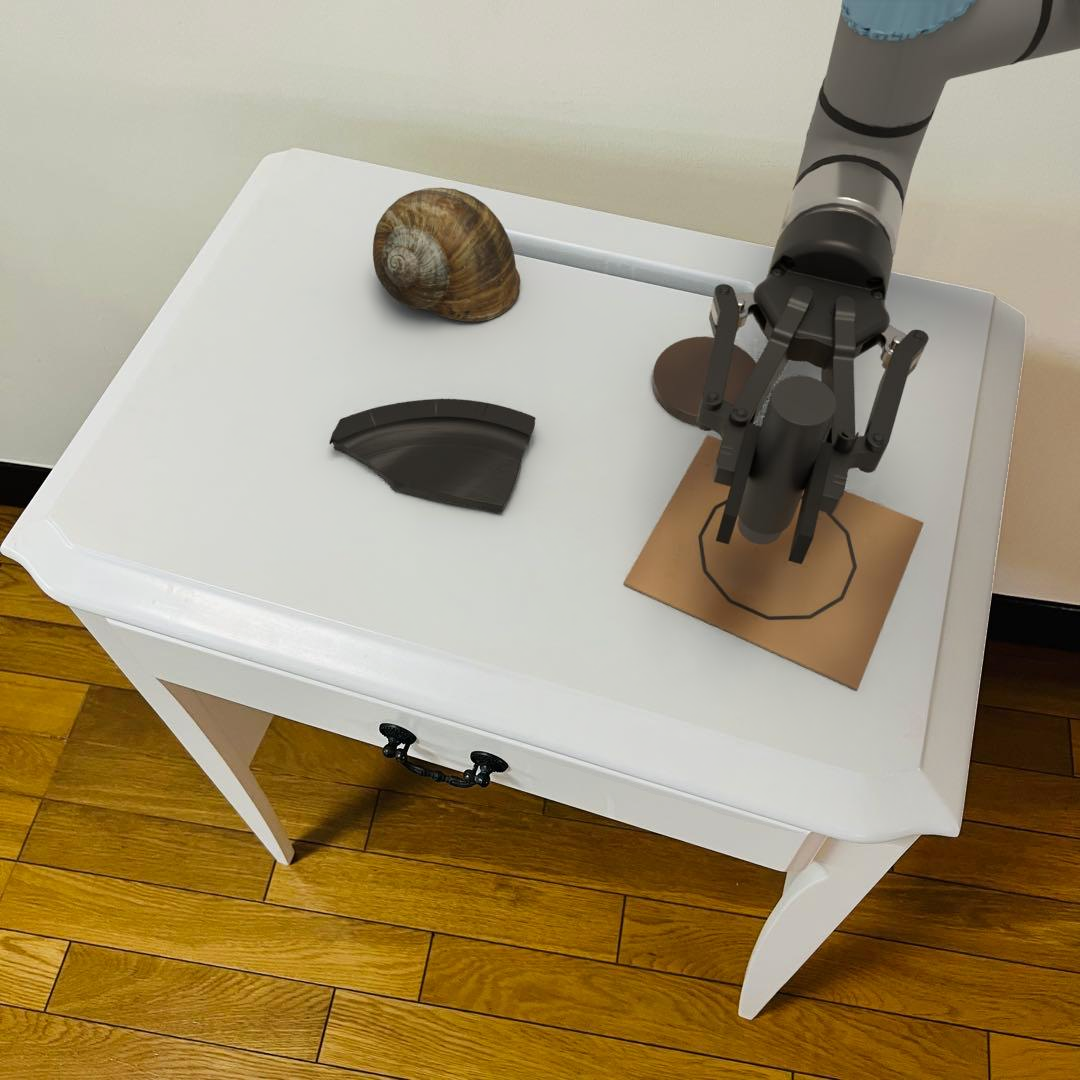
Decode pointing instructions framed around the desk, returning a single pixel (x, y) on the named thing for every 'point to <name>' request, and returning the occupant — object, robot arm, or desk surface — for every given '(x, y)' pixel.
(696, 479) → the paper sheet
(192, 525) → the desk surface
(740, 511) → the dot marker
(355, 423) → the curved wedge
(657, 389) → the coaster
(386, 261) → the seashell
